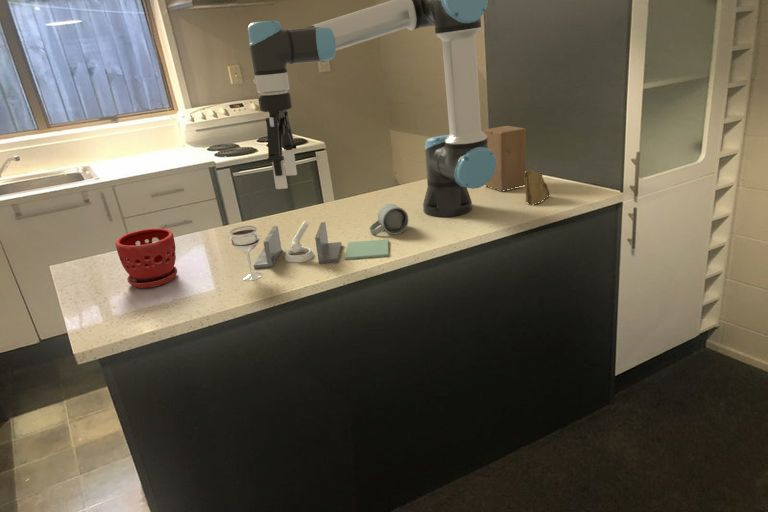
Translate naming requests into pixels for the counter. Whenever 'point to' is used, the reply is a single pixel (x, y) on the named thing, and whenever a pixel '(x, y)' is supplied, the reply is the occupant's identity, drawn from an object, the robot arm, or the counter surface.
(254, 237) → the wineglass
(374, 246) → the mat
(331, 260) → the dark grey bookends
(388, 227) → the ceramic mug
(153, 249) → the plant pot
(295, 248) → the white curved piece
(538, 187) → the rock
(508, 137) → the wooden block
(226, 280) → the counter surface
